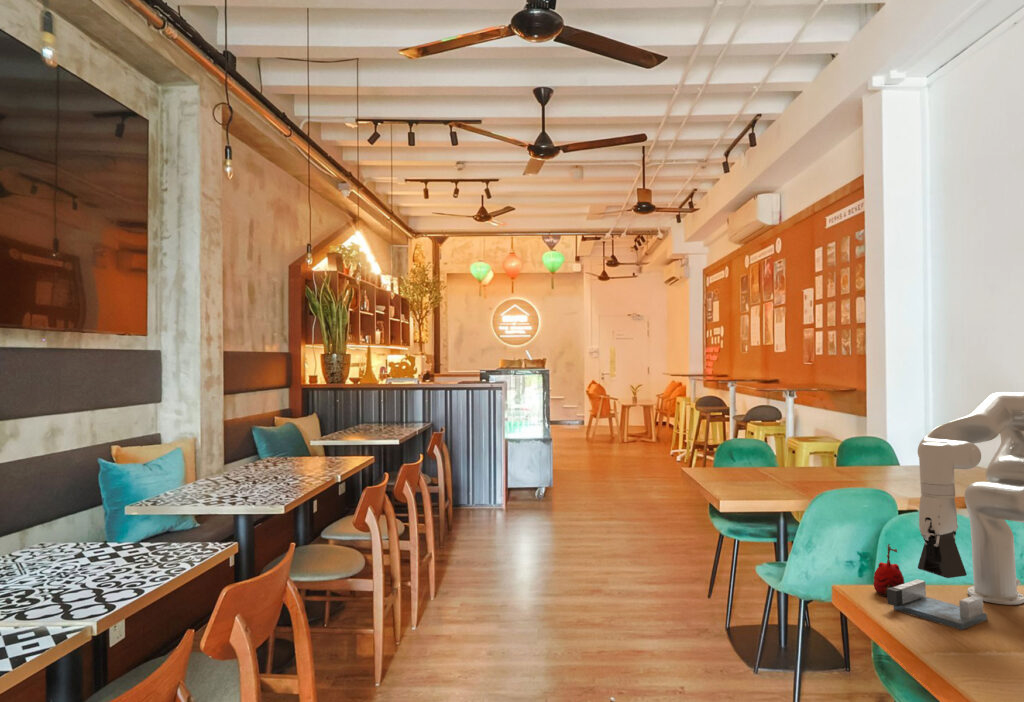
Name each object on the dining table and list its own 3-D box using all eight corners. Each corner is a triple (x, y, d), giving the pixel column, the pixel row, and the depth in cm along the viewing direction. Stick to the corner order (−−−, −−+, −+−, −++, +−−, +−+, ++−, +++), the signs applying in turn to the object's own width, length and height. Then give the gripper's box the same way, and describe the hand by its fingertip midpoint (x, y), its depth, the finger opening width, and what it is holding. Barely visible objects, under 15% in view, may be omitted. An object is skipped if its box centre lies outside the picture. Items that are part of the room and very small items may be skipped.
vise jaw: (917, 593, 176) (916, 579, 176) (926, 596, 173) (926, 581, 173) (887, 603, 169) (886, 588, 169) (897, 606, 167) (896, 591, 167)
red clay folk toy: (903, 592, 182) (900, 539, 183) (906, 600, 176) (904, 545, 176) (873, 589, 185) (870, 537, 186) (875, 597, 179) (872, 543, 179)
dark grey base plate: (919, 600, 175) (918, 580, 176) (987, 619, 161) (985, 597, 161) (893, 609, 170) (892, 588, 170) (961, 630, 155) (960, 607, 155)
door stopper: (966, 576, 163) (964, 528, 163) (948, 578, 161) (946, 530, 162) (935, 566, 171) (933, 521, 172) (917, 568, 170) (915, 523, 170)
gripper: (940, 484, 175) (943, 550, 174) (904, 491, 166) (907, 560, 166) (970, 488, 168) (974, 557, 167) (934, 495, 160) (938, 568, 159)
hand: (941, 558), depth 166 cm, fingers closed on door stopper, 6 cm apart
